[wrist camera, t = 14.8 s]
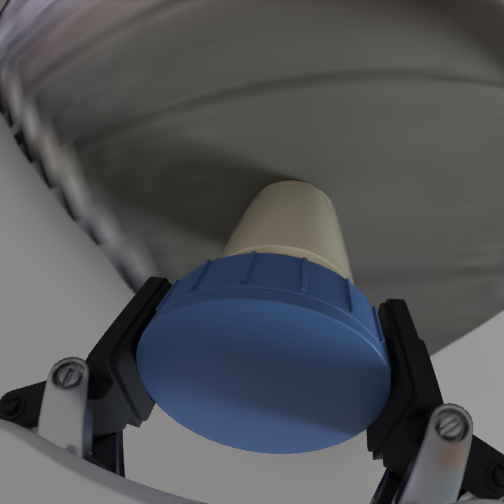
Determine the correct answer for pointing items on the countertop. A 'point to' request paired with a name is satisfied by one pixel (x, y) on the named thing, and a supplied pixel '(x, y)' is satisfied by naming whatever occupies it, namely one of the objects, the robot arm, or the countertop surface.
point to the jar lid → (267, 355)
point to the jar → (292, 227)
